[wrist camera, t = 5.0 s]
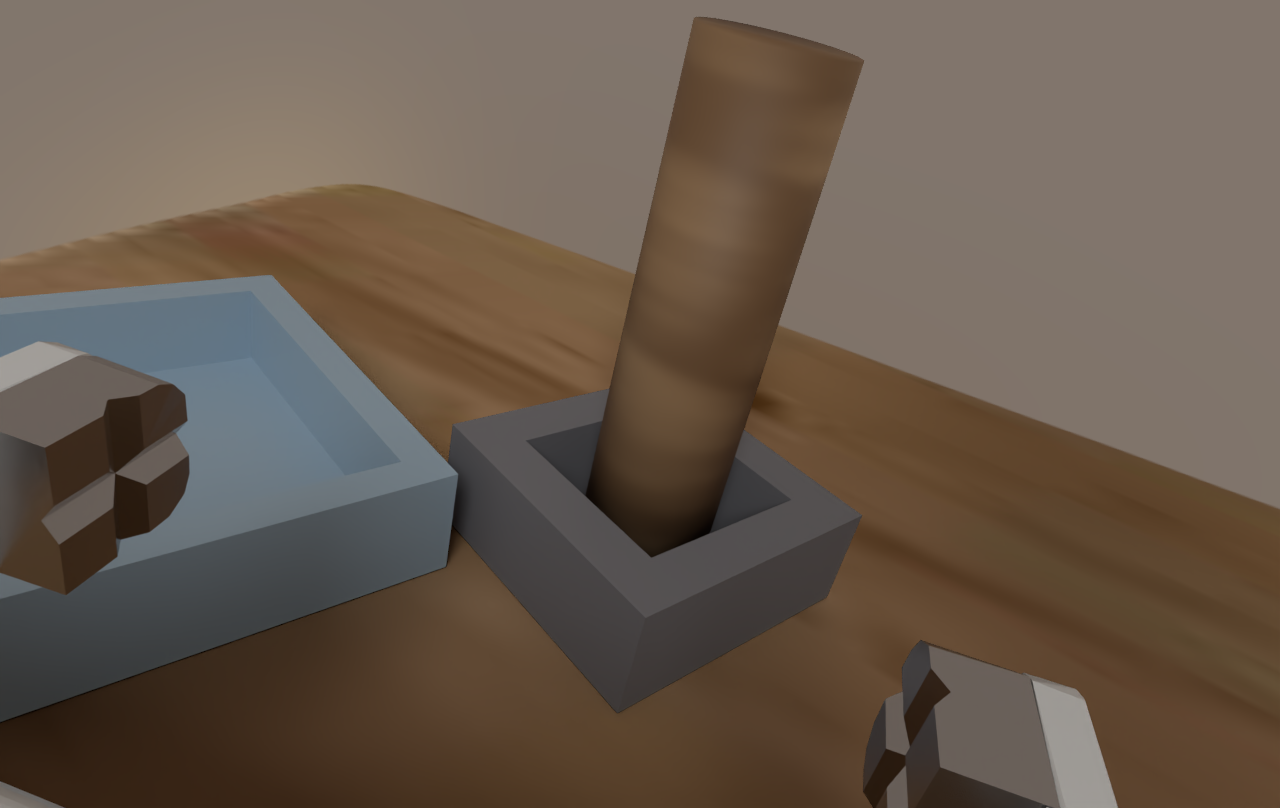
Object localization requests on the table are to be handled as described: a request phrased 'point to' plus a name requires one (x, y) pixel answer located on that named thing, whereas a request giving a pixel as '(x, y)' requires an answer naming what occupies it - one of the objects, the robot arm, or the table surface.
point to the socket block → (639, 549)
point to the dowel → (715, 271)
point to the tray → (227, 486)
